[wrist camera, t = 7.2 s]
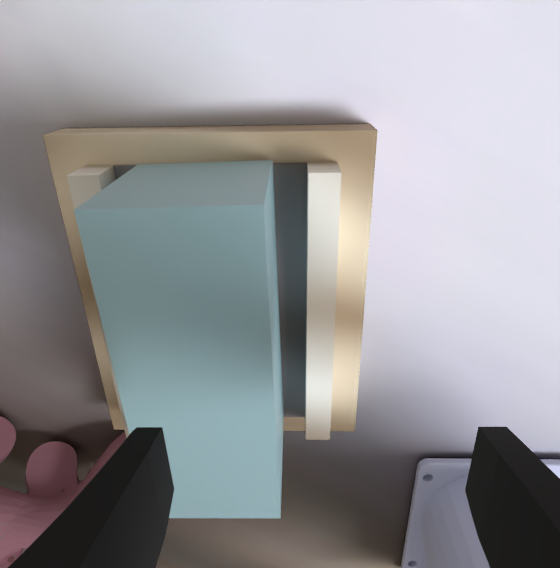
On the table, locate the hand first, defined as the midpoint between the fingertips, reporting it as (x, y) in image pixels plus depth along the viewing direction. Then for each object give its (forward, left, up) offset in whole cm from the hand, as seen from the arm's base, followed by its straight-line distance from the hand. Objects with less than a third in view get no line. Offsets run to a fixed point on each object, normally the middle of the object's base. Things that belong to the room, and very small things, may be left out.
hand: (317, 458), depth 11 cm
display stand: (0, +3, -9) cm, 10 cm away
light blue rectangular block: (0, +3, -8) cm, 8 cm away
